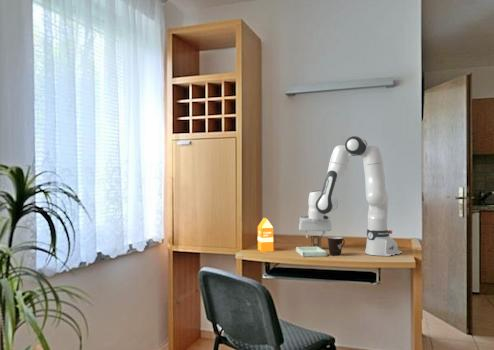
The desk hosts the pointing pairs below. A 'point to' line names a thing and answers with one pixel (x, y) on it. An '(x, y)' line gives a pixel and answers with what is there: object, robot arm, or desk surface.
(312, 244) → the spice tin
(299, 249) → the tray
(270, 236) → the orange juice
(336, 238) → the coffee mug
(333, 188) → the robot arm
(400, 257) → the desk surface
